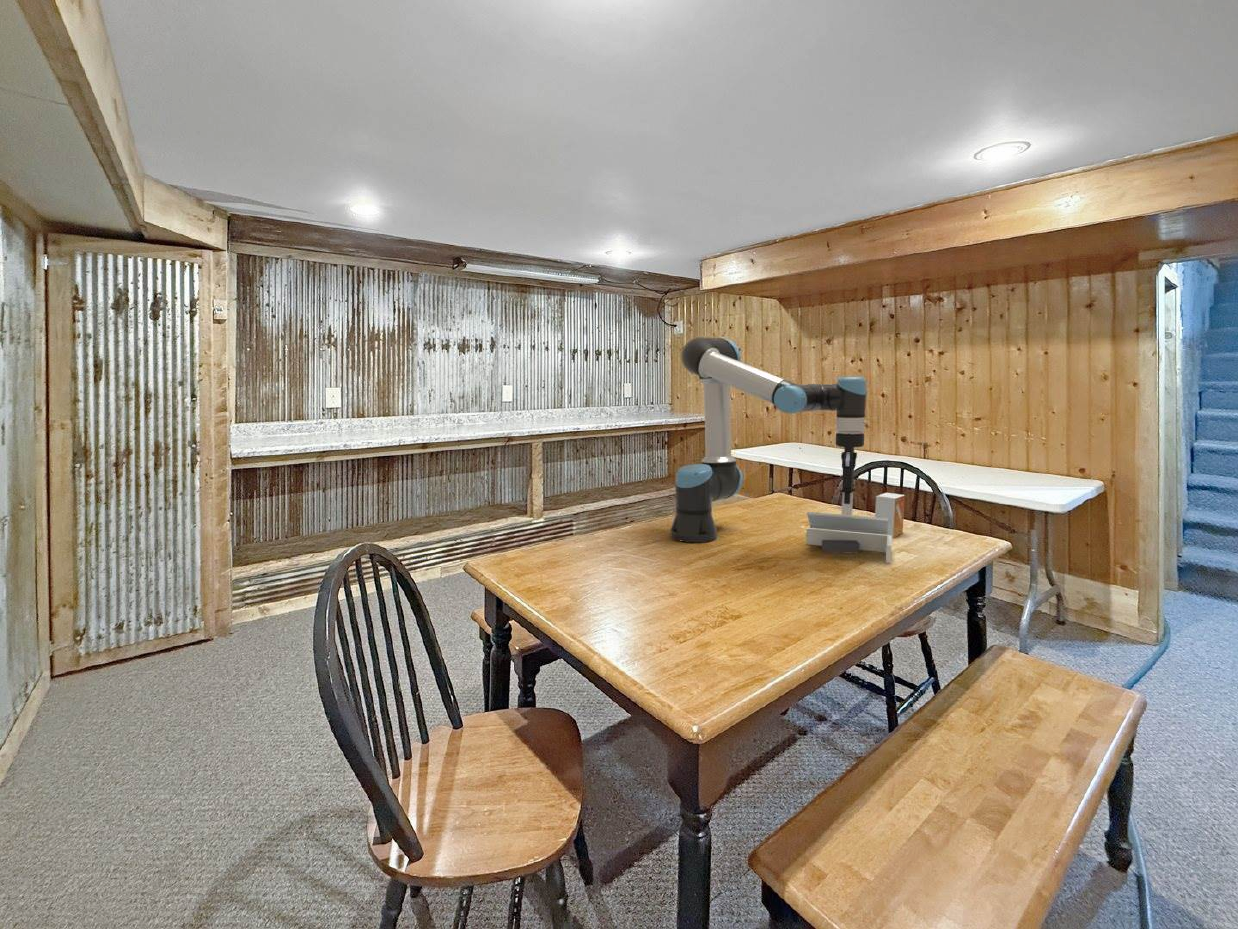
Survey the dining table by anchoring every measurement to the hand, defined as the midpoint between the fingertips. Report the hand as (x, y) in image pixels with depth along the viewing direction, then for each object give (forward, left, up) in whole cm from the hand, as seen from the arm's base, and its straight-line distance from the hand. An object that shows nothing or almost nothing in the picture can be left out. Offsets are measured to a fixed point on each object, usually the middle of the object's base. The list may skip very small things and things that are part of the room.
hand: (846, 514), depth 168 cm
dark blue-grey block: (-2, +5, -13) cm, 14 cm away
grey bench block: (0, +5, -12) cm, 13 cm away
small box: (+11, +30, -13) cm, 35 cm away
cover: (0, +3, -4) cm, 5 cm away
